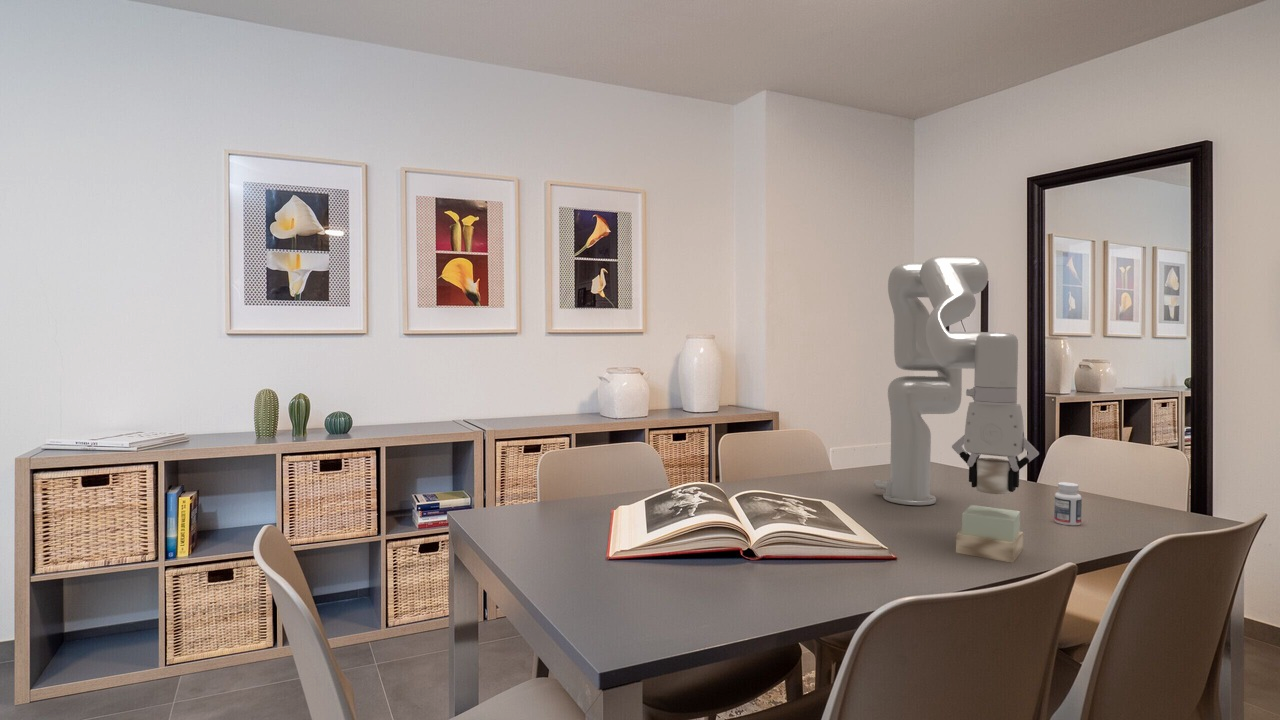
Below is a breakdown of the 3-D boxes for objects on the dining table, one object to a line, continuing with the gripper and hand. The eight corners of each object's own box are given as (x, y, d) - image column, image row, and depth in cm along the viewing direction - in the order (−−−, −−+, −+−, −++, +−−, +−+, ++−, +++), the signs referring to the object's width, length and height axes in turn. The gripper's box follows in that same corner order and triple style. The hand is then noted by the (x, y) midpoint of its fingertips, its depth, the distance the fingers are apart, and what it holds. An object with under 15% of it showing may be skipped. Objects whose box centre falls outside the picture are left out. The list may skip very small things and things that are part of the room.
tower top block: (961, 534, 142) (962, 513, 142) (970, 524, 150) (971, 504, 149) (1013, 541, 137) (1013, 520, 137) (1019, 531, 144) (1020, 511, 144)
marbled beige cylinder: (973, 491, 142) (973, 460, 142) (980, 486, 147) (980, 456, 147) (1007, 495, 138) (1007, 464, 138) (1013, 490, 143) (1013, 460, 143)
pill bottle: (1074, 520, 167) (1075, 481, 167) (1085, 526, 162) (1086, 486, 162) (1049, 519, 168) (1050, 481, 168) (1060, 525, 163) (1061, 486, 162)
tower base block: (955, 554, 142) (956, 534, 142) (968, 542, 150) (968, 523, 150) (1012, 564, 136) (1013, 543, 136) (1022, 552, 144) (1023, 531, 144)
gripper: (943, 395, 144) (941, 486, 145) (1042, 400, 134) (1040, 497, 134) (953, 393, 150) (951, 480, 151) (1048, 397, 140) (1046, 491, 140)
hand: (993, 487), depth 143 cm, fingers closed on marbled beige cylinder, 6 cm apart
